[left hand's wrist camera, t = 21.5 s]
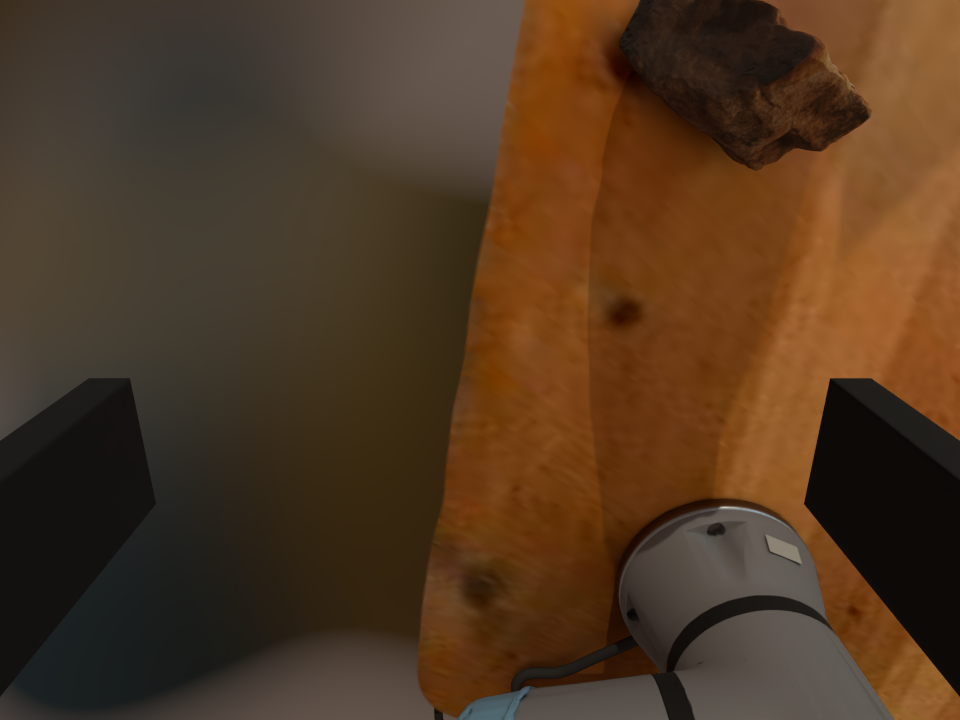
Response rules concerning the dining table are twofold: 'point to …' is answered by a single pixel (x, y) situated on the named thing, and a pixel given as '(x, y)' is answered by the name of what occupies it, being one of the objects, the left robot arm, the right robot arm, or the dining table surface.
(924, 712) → the dining table surface
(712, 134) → the decorative rock
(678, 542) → the left robot arm
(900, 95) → the dining table surface
